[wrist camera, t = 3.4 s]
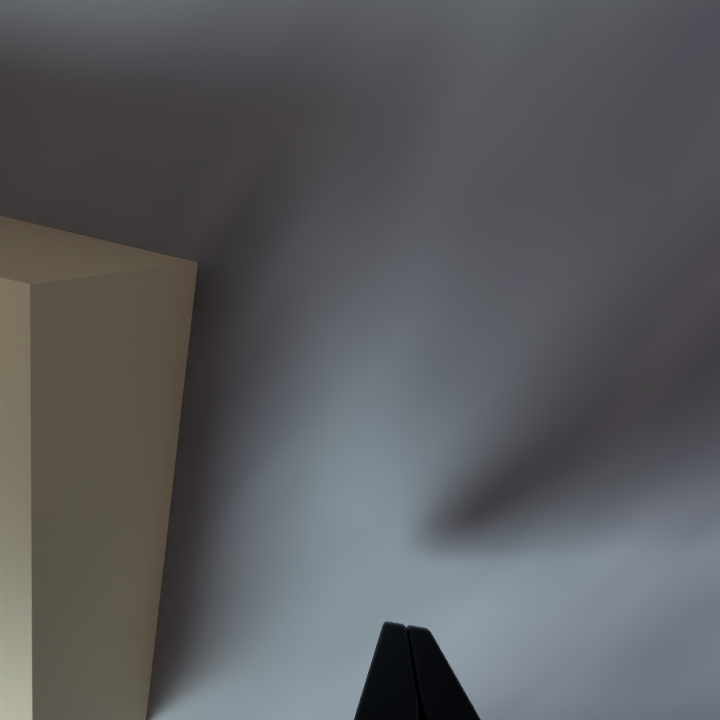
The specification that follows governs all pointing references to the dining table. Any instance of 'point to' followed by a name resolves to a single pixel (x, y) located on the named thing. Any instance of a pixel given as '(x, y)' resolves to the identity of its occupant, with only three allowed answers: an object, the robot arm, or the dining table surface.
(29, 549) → the carton
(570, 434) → the dining table surface
